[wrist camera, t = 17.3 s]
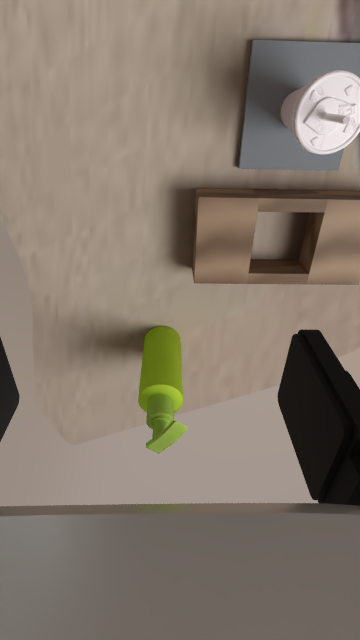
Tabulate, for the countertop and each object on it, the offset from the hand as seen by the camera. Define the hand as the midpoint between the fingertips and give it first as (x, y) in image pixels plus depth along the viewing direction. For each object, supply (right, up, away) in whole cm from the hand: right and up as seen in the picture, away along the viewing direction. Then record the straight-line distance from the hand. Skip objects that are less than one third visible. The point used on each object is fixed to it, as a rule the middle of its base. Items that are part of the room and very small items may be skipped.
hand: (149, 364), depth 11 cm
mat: (+14, +25, +27) cm, 40 cm away
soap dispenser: (-2, -2, +45) cm, 45 cm away
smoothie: (+14, +25, +27) cm, 39 cm away
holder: (+14, +13, +35) cm, 40 cm away
